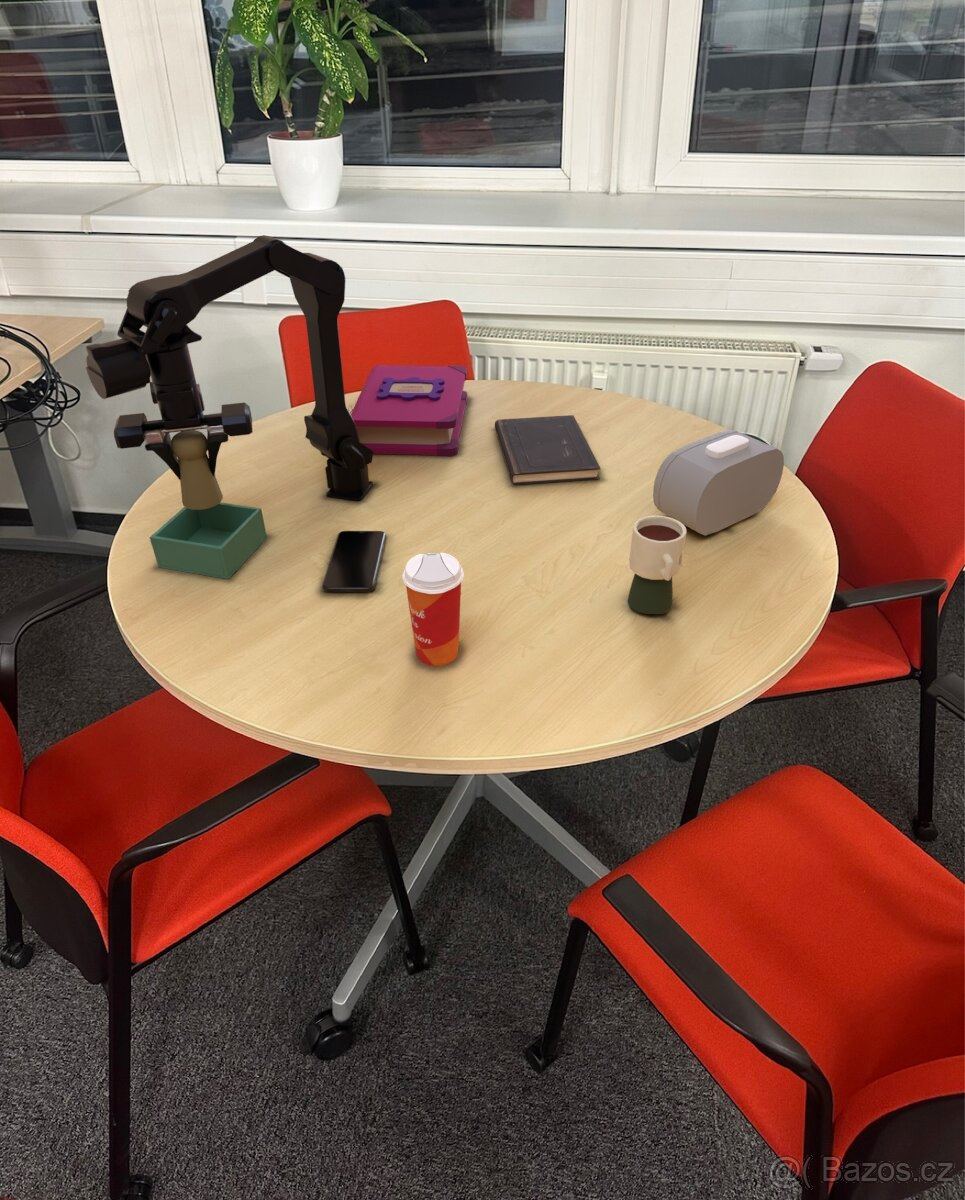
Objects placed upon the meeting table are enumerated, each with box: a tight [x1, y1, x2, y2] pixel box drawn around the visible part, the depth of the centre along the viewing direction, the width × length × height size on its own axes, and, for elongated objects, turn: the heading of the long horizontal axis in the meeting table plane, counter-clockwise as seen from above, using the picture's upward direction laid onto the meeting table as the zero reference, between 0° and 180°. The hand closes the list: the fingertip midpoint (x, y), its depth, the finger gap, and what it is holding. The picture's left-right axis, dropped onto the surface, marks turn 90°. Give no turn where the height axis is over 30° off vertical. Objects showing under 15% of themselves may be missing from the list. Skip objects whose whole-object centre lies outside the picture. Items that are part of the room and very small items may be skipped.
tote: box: [149, 501, 268, 580], centre depth 129 cm, size 12×12×6 cm
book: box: [350, 364, 468, 457], centre depth 166 cm, size 21×28×8 cm
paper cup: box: [401, 551, 465, 667], centre depth 107 cm, size 8×8×14 cm
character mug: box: [627, 515, 687, 615], centre depth 115 cm, size 11×7×13 cm, turn 8°
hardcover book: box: [494, 414, 601, 486], centre depth 157 cm, size 16×23×2 cm
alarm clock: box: [652, 428, 785, 537], centre depth 135 cm, size 21×10×13 cm, turn 126°
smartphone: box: [321, 530, 387, 593], centre depth 128 cm, size 8×1×16 cm
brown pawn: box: [171, 430, 224, 510], centre depth 124 cm, size 6×6×11 cm
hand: (197, 477), depth 125 cm, fingers closed on brown pawn, 4 cm apart
